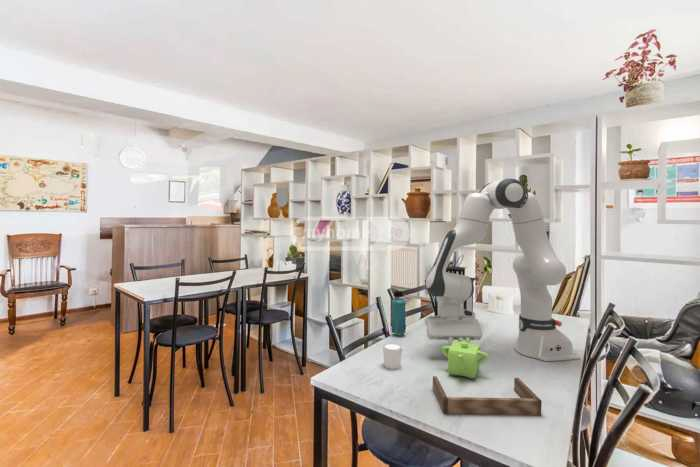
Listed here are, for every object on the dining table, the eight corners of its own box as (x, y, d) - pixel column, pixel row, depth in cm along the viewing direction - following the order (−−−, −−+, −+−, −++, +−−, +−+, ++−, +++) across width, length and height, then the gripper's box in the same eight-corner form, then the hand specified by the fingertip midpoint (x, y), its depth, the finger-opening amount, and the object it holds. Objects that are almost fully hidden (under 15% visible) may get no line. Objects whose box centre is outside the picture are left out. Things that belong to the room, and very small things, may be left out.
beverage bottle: (405, 338, 159) (406, 293, 158) (390, 337, 160) (390, 292, 159) (406, 333, 165) (406, 290, 164) (391, 332, 166) (392, 289, 165)
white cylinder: (389, 371, 125) (389, 351, 125) (379, 363, 131) (379, 344, 131) (405, 367, 128) (406, 348, 128) (394, 360, 134) (395, 342, 134)
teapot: (467, 362, 133) (468, 333, 133) (495, 377, 121) (496, 346, 121) (433, 368, 127) (434, 339, 127) (458, 385, 115) (459, 352, 114)
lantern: (441, 319, 189) (443, 252, 187) (475, 324, 180) (477, 254, 178) (431, 327, 174) (432, 255, 172) (467, 334, 165) (469, 257, 163)
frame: (517, 390, 112) (518, 377, 112) (541, 415, 98) (541, 400, 98) (432, 388, 112) (432, 376, 112) (443, 413, 98) (443, 399, 98)
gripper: (425, 311, 139) (430, 345, 130) (478, 312, 139) (487, 346, 129) (423, 319, 144) (427, 353, 134) (474, 320, 143) (482, 354, 134)
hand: (457, 350), depth 132 cm, fingers closed
